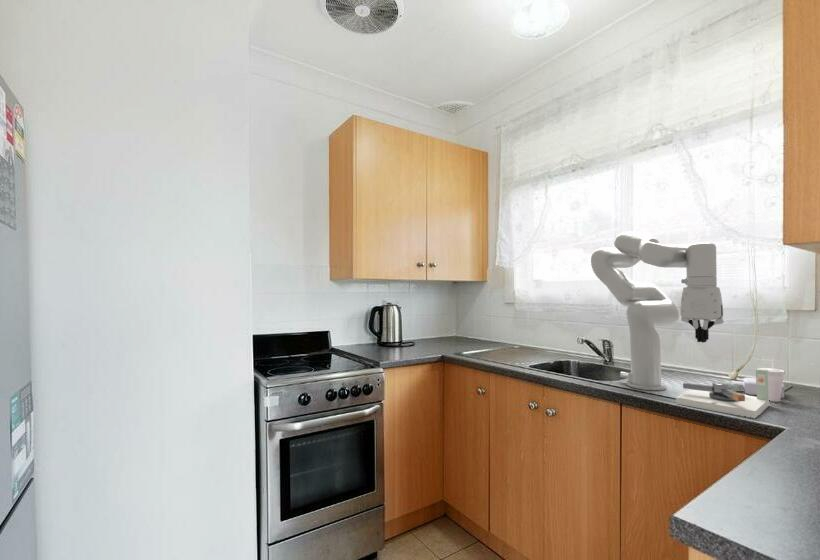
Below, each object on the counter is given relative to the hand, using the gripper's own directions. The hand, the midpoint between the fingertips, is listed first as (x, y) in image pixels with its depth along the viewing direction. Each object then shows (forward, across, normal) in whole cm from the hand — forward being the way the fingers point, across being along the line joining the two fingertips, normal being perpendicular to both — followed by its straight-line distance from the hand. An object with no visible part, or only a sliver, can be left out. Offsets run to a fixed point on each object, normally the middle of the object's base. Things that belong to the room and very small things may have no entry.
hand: (702, 341), depth 122 cm
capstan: (+17, +5, +2) cm, 18 cm away
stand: (+20, +4, +5) cm, 20 cm away
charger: (+20, +6, +30) cm, 36 cm away
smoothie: (+20, +12, +23) cm, 33 cm away
